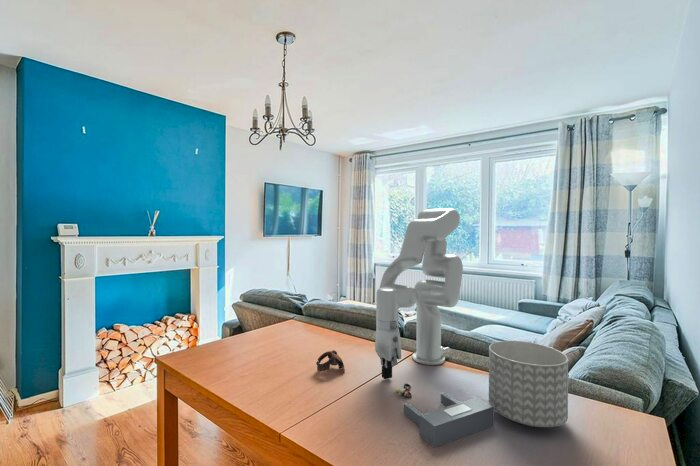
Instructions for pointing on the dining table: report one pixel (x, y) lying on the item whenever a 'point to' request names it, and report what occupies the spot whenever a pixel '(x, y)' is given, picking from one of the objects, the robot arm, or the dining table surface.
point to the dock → (452, 419)
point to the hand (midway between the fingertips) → (386, 377)
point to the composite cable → (404, 391)
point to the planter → (528, 383)
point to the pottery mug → (330, 361)
